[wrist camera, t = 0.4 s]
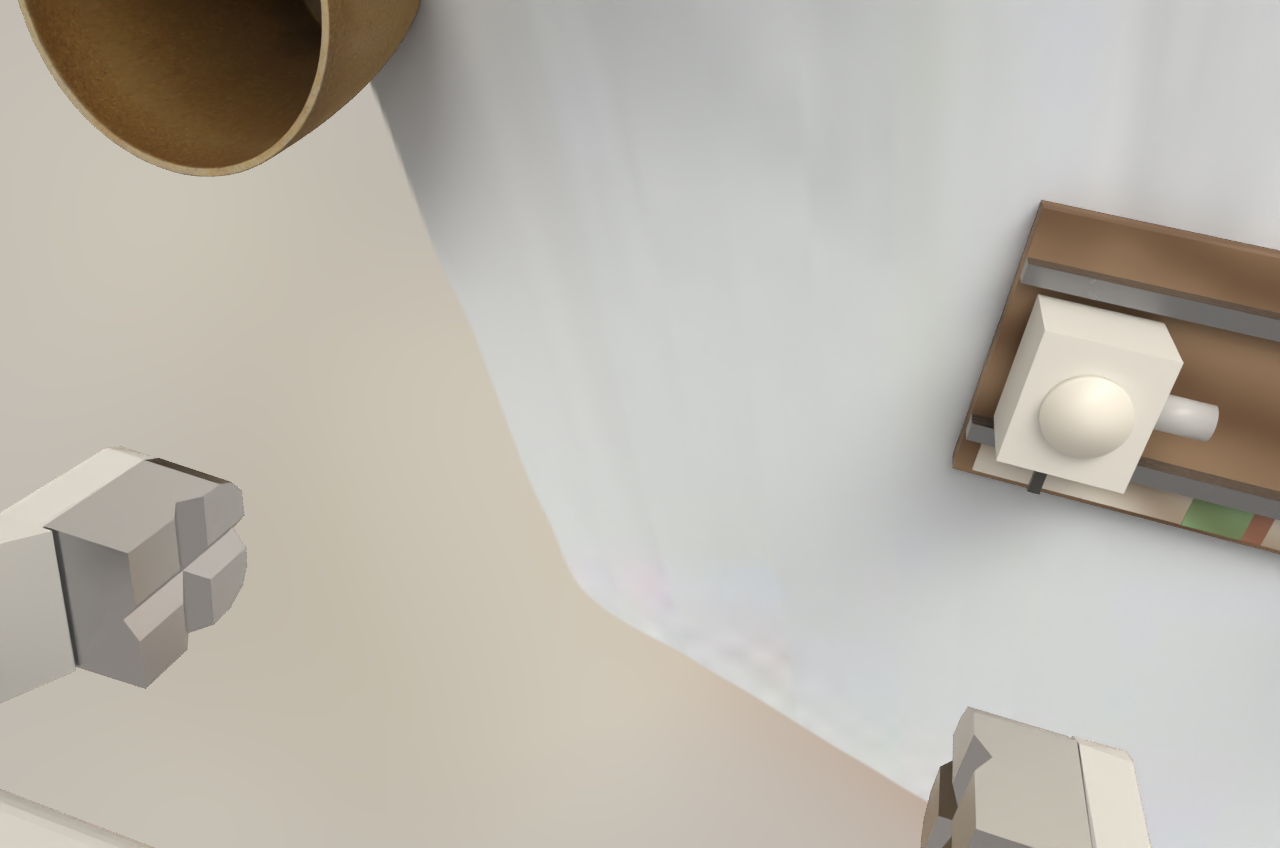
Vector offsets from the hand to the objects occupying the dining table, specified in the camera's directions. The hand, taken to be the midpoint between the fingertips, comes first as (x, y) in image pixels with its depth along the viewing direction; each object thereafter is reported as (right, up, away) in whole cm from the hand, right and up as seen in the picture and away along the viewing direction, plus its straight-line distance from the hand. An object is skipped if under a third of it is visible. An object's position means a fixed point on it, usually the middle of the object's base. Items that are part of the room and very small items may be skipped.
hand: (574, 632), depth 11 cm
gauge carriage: (+24, +3, +41) cm, 47 cm away
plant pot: (-14, +27, +43) cm, 53 cm away
